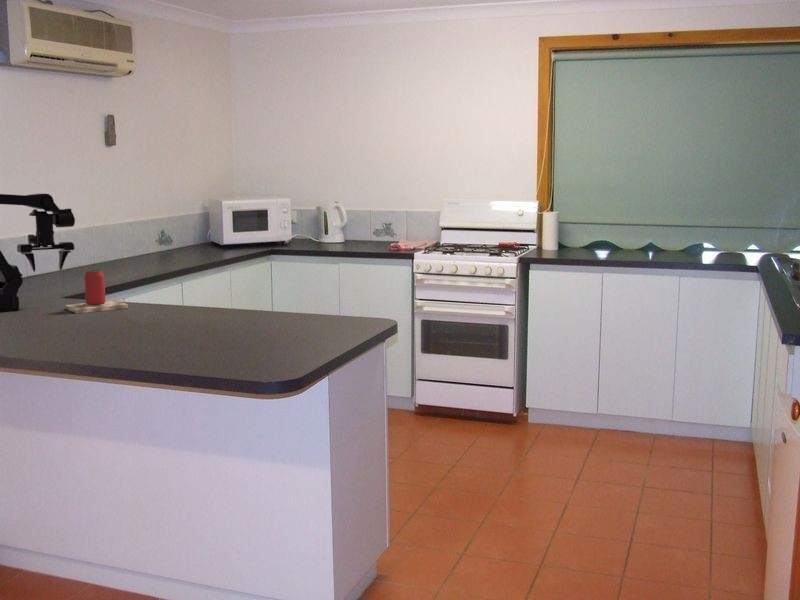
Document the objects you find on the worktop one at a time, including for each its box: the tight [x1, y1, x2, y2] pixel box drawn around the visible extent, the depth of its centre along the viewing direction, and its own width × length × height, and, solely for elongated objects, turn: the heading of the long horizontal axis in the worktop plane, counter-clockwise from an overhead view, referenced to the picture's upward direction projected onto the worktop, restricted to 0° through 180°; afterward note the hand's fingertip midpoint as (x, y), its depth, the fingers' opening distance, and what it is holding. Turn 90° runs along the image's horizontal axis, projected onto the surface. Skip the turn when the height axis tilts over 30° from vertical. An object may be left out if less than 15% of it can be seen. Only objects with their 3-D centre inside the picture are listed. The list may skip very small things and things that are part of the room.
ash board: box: [64, 300, 129, 314], centre depth 303 cm, size 18×13×2 cm
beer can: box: [84, 269, 106, 305], centre depth 302 cm, size 7×7×12 cm
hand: (47, 270), depth 310 cm, fingers open, 9 cm apart
